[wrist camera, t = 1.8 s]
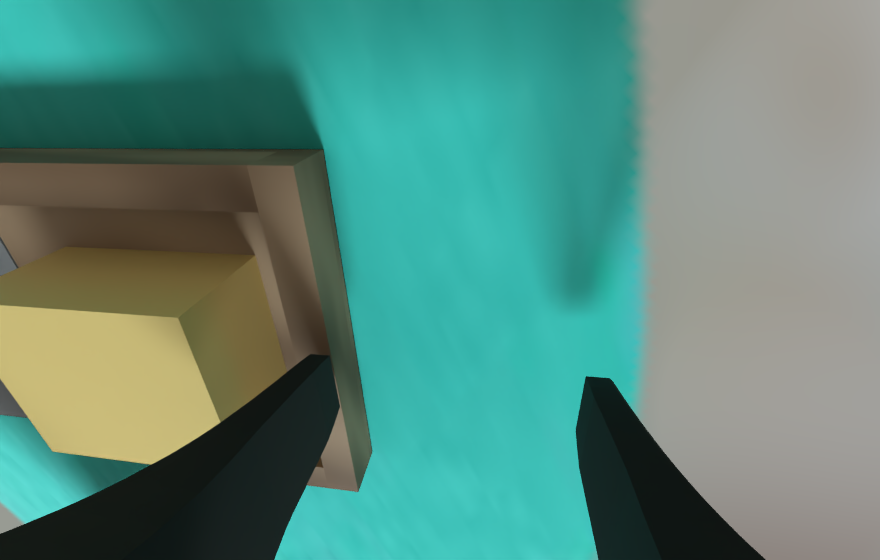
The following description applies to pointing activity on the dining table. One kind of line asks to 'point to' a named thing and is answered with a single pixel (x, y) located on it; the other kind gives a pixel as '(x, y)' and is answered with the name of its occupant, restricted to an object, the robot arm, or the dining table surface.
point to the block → (134, 347)
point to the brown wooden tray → (208, 243)
